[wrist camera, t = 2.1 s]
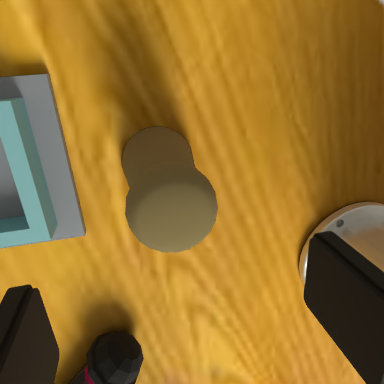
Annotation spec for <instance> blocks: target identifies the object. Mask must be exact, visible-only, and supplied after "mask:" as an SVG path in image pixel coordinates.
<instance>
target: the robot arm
mask: <svg viewBox="0 0 384 384" xmlns="http://www.w3.org/2000/svg"><path fill="white" fill-rule="evenodd" d="M299 271H300V277H301V280H302V283H303V284H304V286H305V287H304V300H305V303H306V305H307V307H308V308H309V309H310V310H311V312H312V313H313V314H314V316H315V317H316V318H317V320H318V321H319V322H320V324H321V325H322V326H323V327H324V329H325V330H326V331H327V333H328V334H329V335H330V337H331V338H332V339H333V341H334V342H335V343H336V345H337V346H338V347H339V348H340V350H341V351H342V352H343V354H344V355H345V356H346V358H347V359H348V360H349V362H350V363H351V364H352V365H353V367H354V368H355V369H356V371H357V372H358V373H359V375H360V376H361V377H362V379H363V380H364V381H365V383H366V384H384V204H381V203H377V202H361V203H355V204H352V205H349V206H346V207H344V208H342V209H340V210H338V211H336V212H334V213H333V214H331V215H330V216H329V217H327V218H326V219H325V220H323V221H322V222H321V223H320V224H319V225H318V226H317V227H316V228H315V230H314V231H313V232H312V234H311V235H310V236H309V238H308V240H307V242H306V243H305V245H304V247H303V250H302V253H301V256H300V263H299ZM58 362H59V348H58V345H57V342H56V339H55V336H54V333H53V330H52V327H51V324H50V321H49V318H48V316H47V313H46V310H45V307H44V304H43V301H42V298H41V295H40V292H39V290H38V288H32V286H31V285H23V286H18V287H12V288H9V289H8V290H7V292H6V294H5V296H4V298H3V299H2V301H1V303H0V384H54V380H55V376H56V371H57V367H58Z"/></svg>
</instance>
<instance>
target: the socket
mask: <svg viewBox="0 0 384 384" xmlns="http://www.w3.org/2000/svg"><path fill="white" fill-rule="evenodd" d="M85 234H86V228H85V224H84V220H83V216H82V211H81V207H80V203H79V199H78V194H77V190H76V186H75V181H74V177H73V173H72V169H71V164H70V160H69V156H68V152H67V147H66V143H65V139H64V135H63V130H62V126H61V122H60V118H59V113H58V109H57V105H56V100H55V96H54V92H53V88H52V83H51V79H50V75H49V74H38V75H25V76H11V77H0V248H7V247H13V246H20V245H27V244H33V243H40V242H47V241H53V240H60V239H66V238H73V237H80V236H85Z"/></svg>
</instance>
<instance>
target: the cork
mask: <svg viewBox="0 0 384 384" xmlns="http://www.w3.org/2000/svg"><path fill="white" fill-rule="evenodd" d="M122 168H123V171H124V174H125V177H126V180H127V182H128V185H129V187H130V189H129V192H128V194H127V196H126V212H125V215H126V218H127V221H128V225H129V228H130V229H131V231H132V232H133V234H134V235H135V236H136V238H137V239H138V240H139V241H140V242H141V243H143V244H144V245H146V246H147V247H149V248H151V249H154V250H157V251H161V252H181V251H184V250H188V249H190V248H192V247H194V246H195V245H197V244H199V243H200V242H201V241H202V240H203V239H204V238H205V237H206V236H207V235H208V234H209V233H210V231H211V229H212V227H213V225H214V223H215V221H216V215H217V209H218V208H217V200H216V194H215V191H214V189H213V187H212V185H211V184H210V182H209V180H208V179H207V178H206V177H205V176H204V175H203V174H202V173H201V172H200V171H198V170H197V169H196V168H195V164H194V160H193V155H192V151H191V148H190V146H189V144H188V142H187V141H186V139H185V138H184V137H183V136H181V135H180V134H179V133H178V132H177V131H174V130H172V129H170V128H167V127H159V126H154V127H149V128H145V129H143V130H141V131H139V132H138V133H136V134H134V135H133V136H132V138H131V139H130V140H129V141H128V142H127V143H126V146H125V148H124V151H123V153H122Z"/></svg>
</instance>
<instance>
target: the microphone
mask: <svg viewBox="0 0 384 384" xmlns="http://www.w3.org/2000/svg"><path fill="white" fill-rule="evenodd" d="M143 359H144V358H143V354H142V349H141V345H140V344H139V343H138V341H137V340H136V339H135V337H134V336H133V335H131V334H129V333H127V332H124V331H119V332H115V333H108V334H104V335H100V336H98V337H97V338H96V340H95V341H94V342H93V344H92V346H91V347H90V349H89V351H88V352H87V364H86V365H85V366H84V367H83V368H82V369H81V371H80V372H79V373H78V374H77V375H76V376H75V377H74V378H73V379H72V380H71V382H70V383H69V384H135V382H136V379H137V376H138V374H139V371H140V367H141V364H142V362H143Z"/></svg>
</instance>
